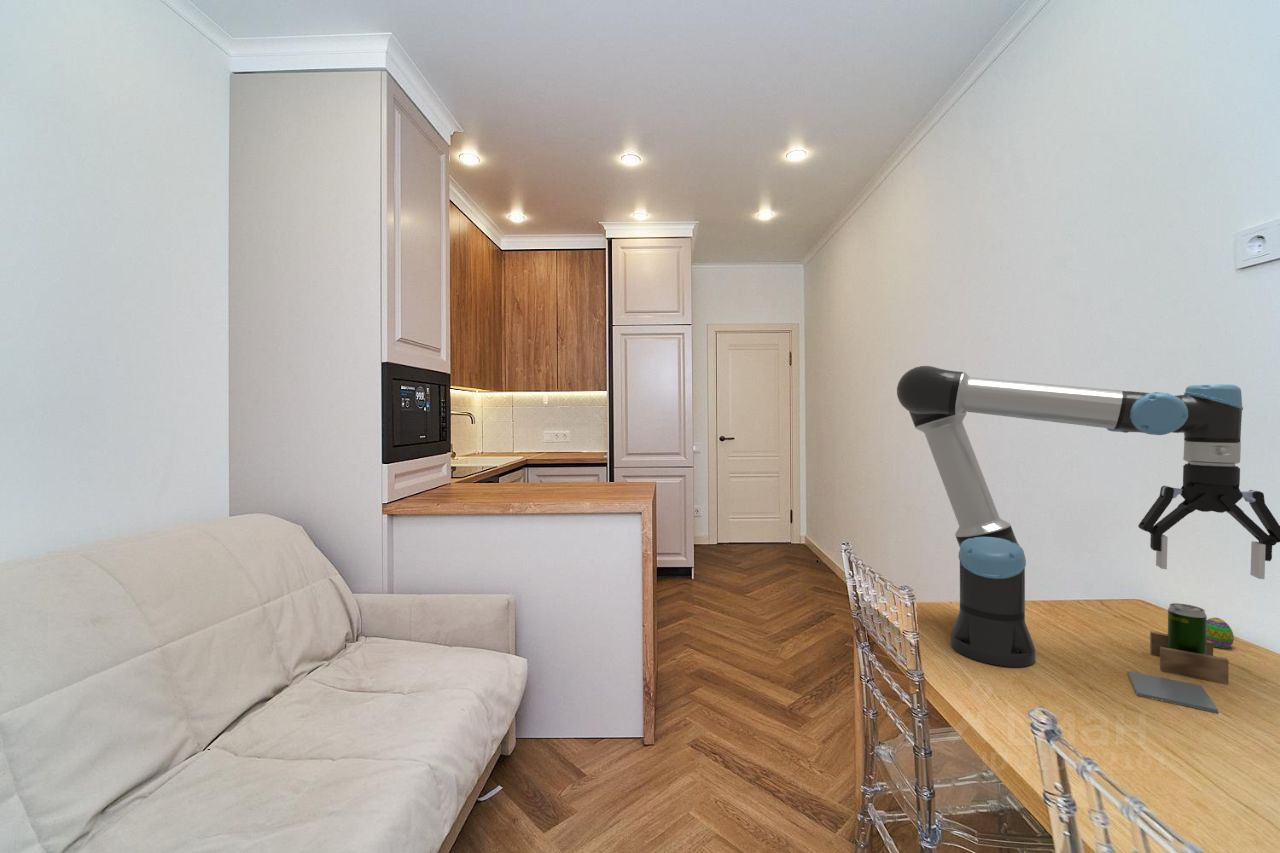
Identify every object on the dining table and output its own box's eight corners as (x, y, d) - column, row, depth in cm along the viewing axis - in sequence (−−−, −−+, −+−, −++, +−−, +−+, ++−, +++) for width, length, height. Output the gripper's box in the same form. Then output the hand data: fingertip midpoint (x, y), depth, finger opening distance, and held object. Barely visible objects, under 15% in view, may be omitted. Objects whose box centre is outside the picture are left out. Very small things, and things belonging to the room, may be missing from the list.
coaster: (1137, 695, 94) (1137, 692, 94) (1127, 673, 102) (1127, 670, 102) (1218, 713, 88) (1218, 709, 88) (1201, 688, 97) (1201, 685, 97)
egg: (1210, 639, 118) (1210, 613, 118) (1240, 648, 113) (1240, 621, 113) (1194, 641, 117) (1194, 615, 116) (1223, 651, 112) (1223, 623, 112)
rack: (1161, 671, 103) (1161, 648, 103) (1150, 652, 112) (1150, 631, 111) (1228, 684, 98) (1228, 660, 98) (1211, 663, 106) (1211, 641, 106)
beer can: (1203, 676, 101) (1203, 614, 101) (1164, 665, 105) (1164, 606, 105) (1209, 669, 104) (1209, 608, 104) (1171, 658, 108) (1171, 601, 108)
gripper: (1134, 462, 105) (1131, 568, 105) (1319, 468, 93) (1315, 587, 94) (1120, 459, 111) (1118, 559, 112) (1291, 465, 100) (1288, 575, 100)
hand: (1207, 572), depth 103 cm, fingers open, 13 cm apart
